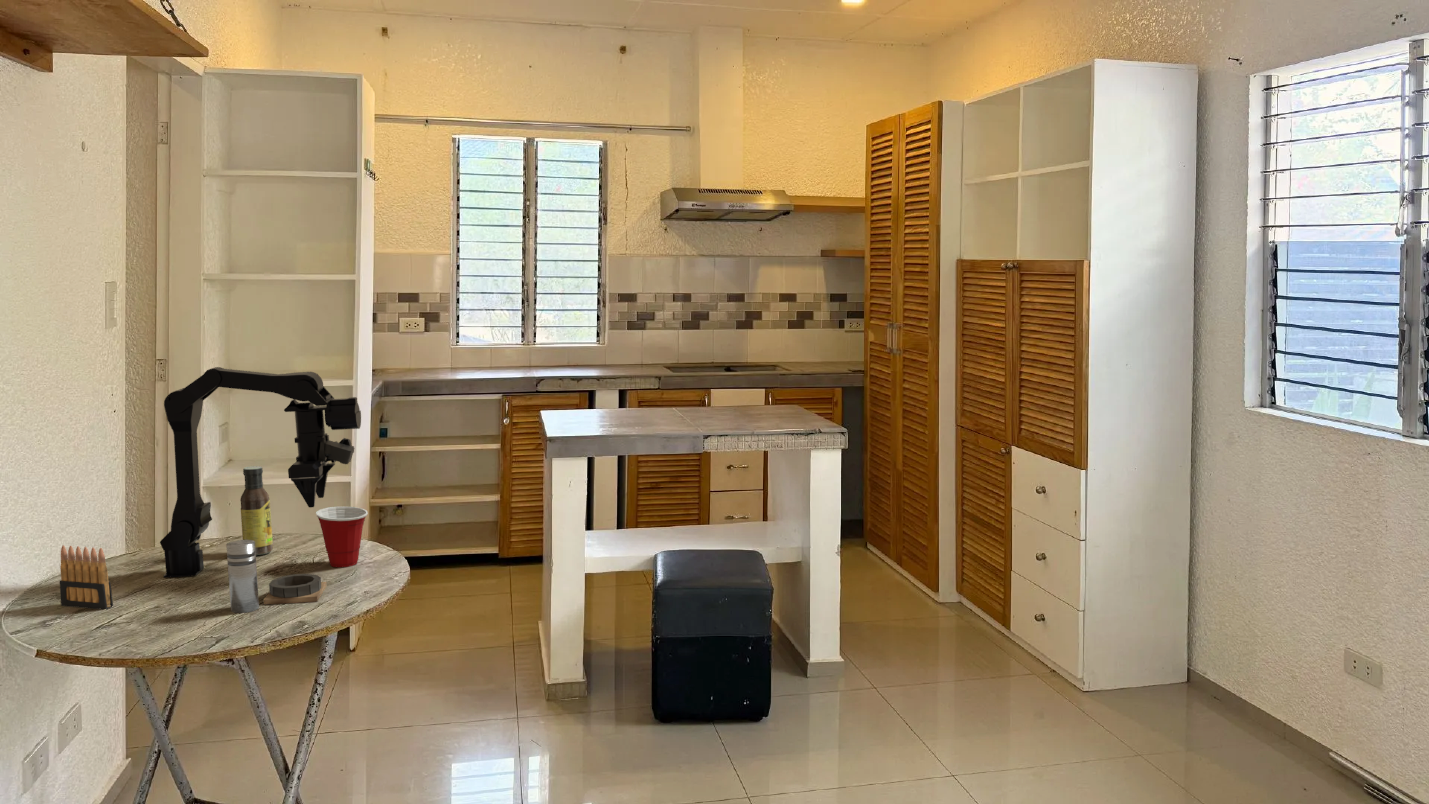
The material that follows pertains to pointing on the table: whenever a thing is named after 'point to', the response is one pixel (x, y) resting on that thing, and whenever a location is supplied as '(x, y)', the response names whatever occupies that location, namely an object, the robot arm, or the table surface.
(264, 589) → the table surface
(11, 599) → the table surface
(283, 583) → the collar
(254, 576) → the cylinder
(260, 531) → the sauce bottle
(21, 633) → the table surface
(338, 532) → the plastic cup
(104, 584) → the ammunition clip
